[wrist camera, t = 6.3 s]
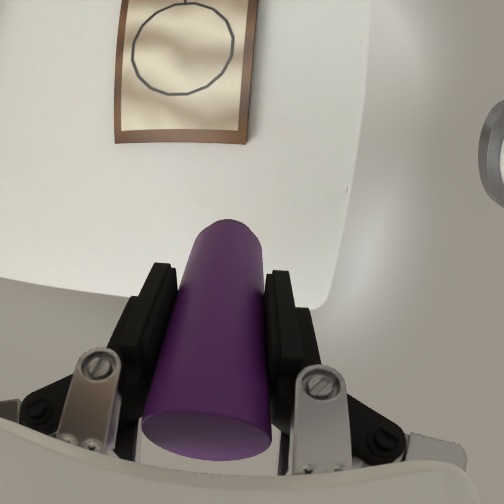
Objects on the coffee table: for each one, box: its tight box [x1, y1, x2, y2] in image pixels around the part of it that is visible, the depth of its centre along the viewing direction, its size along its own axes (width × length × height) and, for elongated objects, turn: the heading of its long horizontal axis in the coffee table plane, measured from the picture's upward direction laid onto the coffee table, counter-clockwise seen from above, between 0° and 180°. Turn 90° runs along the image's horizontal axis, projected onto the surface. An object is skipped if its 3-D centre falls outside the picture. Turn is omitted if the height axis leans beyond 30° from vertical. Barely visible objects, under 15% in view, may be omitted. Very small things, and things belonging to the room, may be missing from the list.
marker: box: [141, 219, 272, 461], centre depth 10 cm, size 3×3×10 cm
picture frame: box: [114, 0, 258, 145], centre depth 23 cm, size 20×14×1 cm
